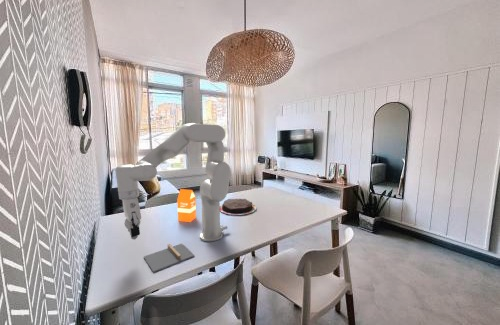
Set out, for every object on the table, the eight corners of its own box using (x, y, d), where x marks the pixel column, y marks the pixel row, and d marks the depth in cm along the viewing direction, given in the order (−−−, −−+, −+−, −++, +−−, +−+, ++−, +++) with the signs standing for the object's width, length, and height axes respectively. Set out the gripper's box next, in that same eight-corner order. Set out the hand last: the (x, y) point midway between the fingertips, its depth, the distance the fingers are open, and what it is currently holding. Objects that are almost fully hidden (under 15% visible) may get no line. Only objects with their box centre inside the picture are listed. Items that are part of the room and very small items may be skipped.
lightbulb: (133, 243, 92) (130, 219, 90) (123, 241, 94) (120, 217, 92) (145, 236, 97) (142, 213, 95) (135, 234, 99) (132, 212, 98)
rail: (170, 248, 106) (169, 243, 106) (180, 259, 96) (180, 255, 96) (167, 248, 105) (167, 244, 105) (178, 260, 96) (178, 256, 95)
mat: (181, 244, 110) (181, 243, 109) (194, 256, 99) (194, 255, 99) (143, 257, 98) (143, 256, 98) (153, 272, 87) (153, 271, 87)
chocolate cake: (256, 216, 147) (256, 207, 146) (215, 216, 147) (215, 207, 146) (256, 203, 175) (256, 195, 174) (221, 203, 175) (221, 195, 174)
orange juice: (190, 222, 137) (189, 191, 134) (178, 220, 139) (176, 190, 136) (196, 217, 145) (195, 188, 142) (184, 216, 146) (182, 187, 144)
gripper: (143, 196, 88) (148, 237, 91) (133, 188, 101) (138, 224, 104) (123, 200, 83) (128, 243, 86) (115, 191, 96) (120, 229, 99)
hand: (133, 232), depth 95 cm, fingers closed on lightbulb, 5 cm apart
